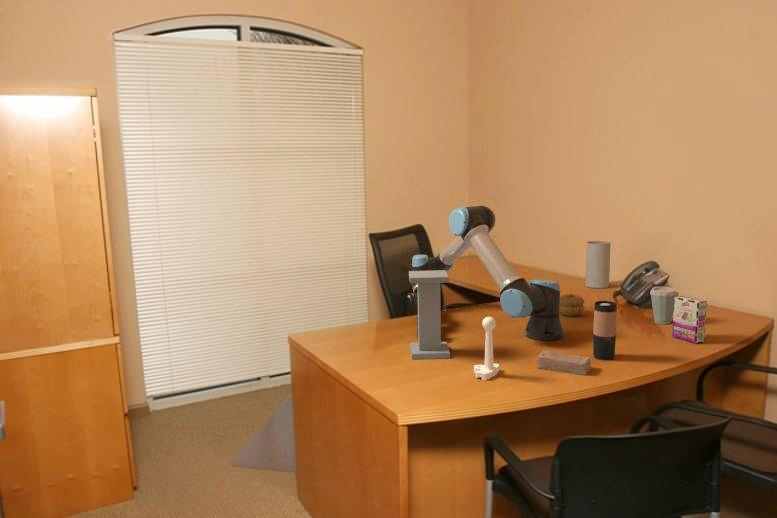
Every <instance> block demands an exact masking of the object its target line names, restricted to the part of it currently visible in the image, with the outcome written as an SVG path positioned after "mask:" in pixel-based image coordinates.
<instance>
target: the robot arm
mask: <svg viewBox="0 0 777 518" xmlns="http://www.w3.org/2000/svg"><path fill="white" fill-rule="evenodd" d="M495 225H496V215H495V213H494V212H493V210H492V209H491V208H489V207H488V206H486V205H476V206H461V207H458V208H456V209H453V211H451V212H450V215H449V218H448V228H449V231H450V232H451V234H452V235H454V236H456V237H455V238H454V239H453V241H451V242H450V243H449V244H448V245H447V246H446V247H445V248H444V249H443V250H442V251H441V252H440V253H439V254H438V255H436V256H432V257H429V256H428V255H427V254H414V255H413V256H412V263H411V266H412V267H411V268H412V271H435V270H445V271H446V272H447V271H450V270H452V269H453V265H454V263H455V261H457V260H458V259H459V258H460V257H461V256H462V255H463V254H465V252H467V250H469V249H470V247H472V249H473V250H474V252H475V253H476V255H477V256H478V258H479V259H480V261H481V262H482V263H483V265H484V266H485V268H486V270H487V271H488V272H489V274H490V275H491V277H492V278H493V280H494V282H496V285H497V286H498V287H499V295H500V299H499V301H500V307H501V310H502V311H503V312H504V313H505V314H506V316H508V317H510V318H513V319H523V318H528V317H529V318H528V321H527V324H526V326H525V329H524V330H525V331H524V332H525V333H524V336H526V337H527V338H529V339H532V340H534V341H535V340H536V341H543V342H544V341H545V342H546V341H547V342H549V341H557V340H561V339H563V338H564V333H565V332H564V329H563V325H562V322H561V319H560V297H561V287H560V285H561V284H560V283H559V282H558V281H555V280H549V279H542V278H538V279H537V278H532V279H530V282H528V281H527V280H526V278H525V277H523V276H519V275H518V274H517V273H516V271H515V269H514V268H513V266H512V265H511V264H510V263H509V261H508V259H507V258H506V257H505V255H504V254H503V253H502V251H501V250H500V247H498V245H497V244H496V242H495V241H494V240H493V238H492V237H491V235H490V234H489V233H490V232H491V231H492V230H493V229H494V228H495ZM411 287H412V291H413V293H411V292H408V293H407V299H409V302H410V304H414V305H415V306H418V293H417V283H412V285H411Z"/></svg>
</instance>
